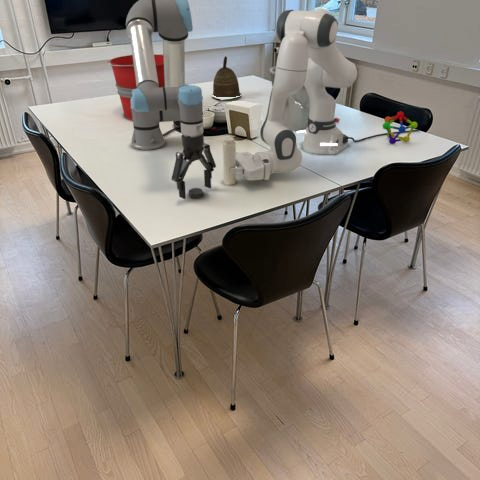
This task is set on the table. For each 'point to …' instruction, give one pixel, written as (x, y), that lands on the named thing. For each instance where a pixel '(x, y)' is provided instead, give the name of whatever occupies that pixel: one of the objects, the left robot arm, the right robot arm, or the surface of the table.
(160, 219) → the table surface
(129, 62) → the bucket
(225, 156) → the jar
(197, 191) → the lid
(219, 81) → the bell
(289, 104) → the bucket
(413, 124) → the educational toy
